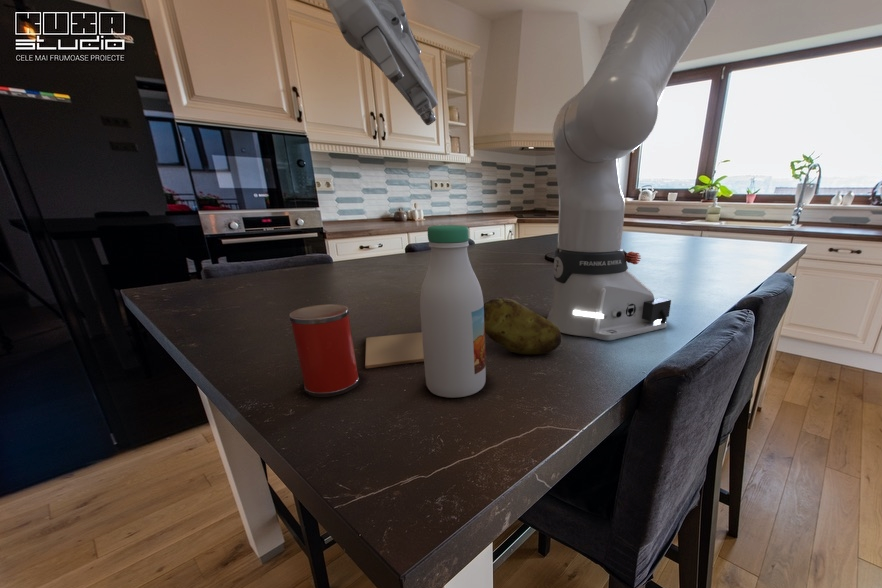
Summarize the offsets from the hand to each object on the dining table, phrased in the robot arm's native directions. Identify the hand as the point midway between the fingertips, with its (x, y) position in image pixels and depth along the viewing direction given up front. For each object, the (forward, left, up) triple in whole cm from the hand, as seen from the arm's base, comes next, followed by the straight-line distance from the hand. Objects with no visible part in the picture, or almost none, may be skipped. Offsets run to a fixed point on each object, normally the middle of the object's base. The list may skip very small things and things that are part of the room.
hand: (414, 100), depth 50 cm
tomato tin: (+14, +8, -34) cm, 38 cm away
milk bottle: (-1, +13, -35) cm, 37 cm away
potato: (-13, +4, -35) cm, 37 cm away
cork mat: (+4, -2, -34) cm, 35 cm away
